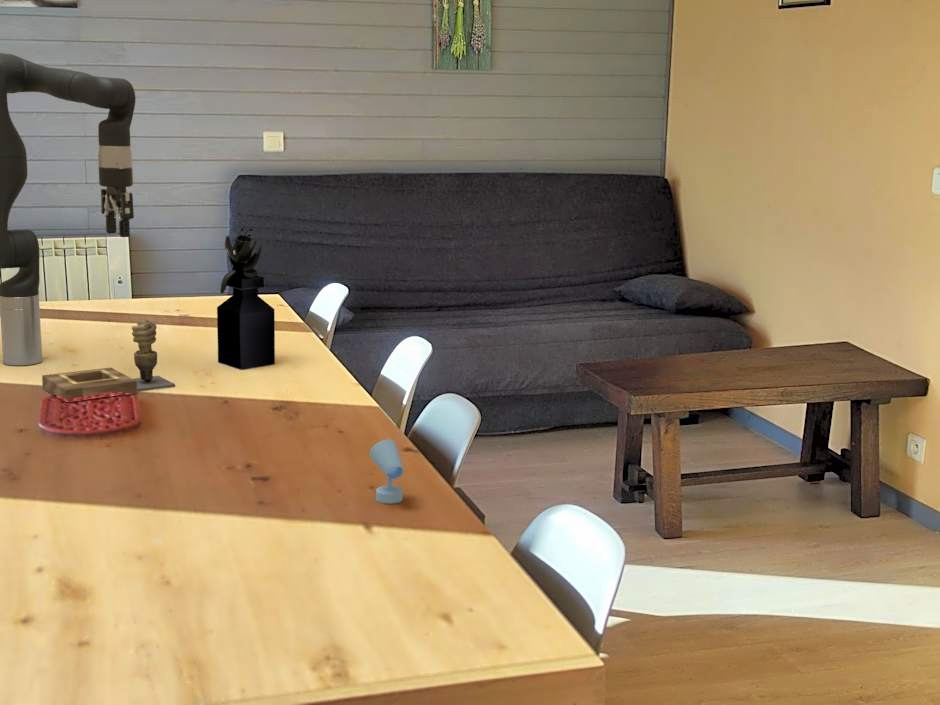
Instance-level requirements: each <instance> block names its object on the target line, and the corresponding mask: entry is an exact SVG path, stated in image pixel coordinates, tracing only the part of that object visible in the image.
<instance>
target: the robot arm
mask: <svg viewBox="0 0 940 705" xmlns="http://www.w3.org/2000/svg"><path fill="white" fill-rule="evenodd" d="M17 93H43V94H47V95H49V96H52V97H54V98H56V99H59V100H64V101H69V102H74V103H79V104H85V105H87V106H91V107H94V108H99V109H105V110H106V109H107V110H108V115H107V117H106V119H102V120H101V121H100V122H99V123H98V126H97V127H98V128H97V129H98V130H97V131H98V132H97V133H98V153H97V160H98V161H97V164H98V184H99V186H101V187H104V188H101V189H100V198H101V199H100V202H101V203H100V204H101V208H100V209H101V210H100V212H101V214H102V215H104V218H105V231H106V233H107V234H116V233H117V217H118V220H119V221H118V229H119V237H121V238H129V237H130V235H131V231H130V230H131V228H130V221H131V220H132V219H134V217H135V214H134V201H133V200H134V198H133V196H134V195H133V192H127V188H128V187H129V188H130V187H132V186H133V185H134V175H133V173H134V172H133V156H132V150H131V149H132V148H131V125H132V122H133V116H134V111H135V108H136V92H135V89H134V87H133V85H132V83H131V82H130V81H129V80H127V79H125V78H121V77H120V78H119V77H108V76H106V77H105V76H97V75H92V74H90V73H87V72H83V71H77V70H72V69H64V68H57V67H56V68H55V67H49V66H45V65H41V64H38V63H36V62H33V61H30V60H28V59H25V58H23V57H20V56H17V55H14V54H12V53H1V52H0V269H18V270H17V272H16V273H15V274H14V275H13V276H12V277H11V278H8V279H6V280H4V281H2V282H0V332H1V333H0V334H1V350H2V363H3V364H4V365H7V366H30V365H37V364H39V363H41V362H43V346H42V345H43V344H42V330H41V329H42V328H41V327H42V326H41V310H40V308H41V307H40V294H39V293H40V291H39V288H40V281H41V280H40V277H41V276H40V244H39V239H38V237H37V234H36V233H35V232H34V231H32V230H30V229H17V230H16V229H15V230H8V222H9V217H10V214H11V209H12V207H13V205H14V203H15V201H16V199H17V198H18V196H19V194H20V193H21V192H22V189H24V188H23V187H25V184H26V181H27V179H28V159H27V158H28V157H27V148H26V146H25V143H24V142H23V141H24V140H23V139H22V137H21V135H20V134H19V132H18V130H17V128H16V126H15V124H14V123H13V121H12V119H11V115H10V112H9V106H8V105H9V104H8V94H17Z"/></svg>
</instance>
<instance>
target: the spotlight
mask: <svg viewBox="0 0 940 705" xmlns="http://www.w3.org/2000/svg"><path fill="white" fill-rule="evenodd" d="M369 450H370V451H369V458H370V459H371V461H372V462H374V464H375V465H376V466H377V467H378V468H379V469H380V471H381V472H383V474H384V475H385V476H386V477H387V478H386V480H387V481H386V483H387V484H386V485H382V486H379V487H377V488H376V489H375V500H376V501H377V503H381V504H388V505H389V504H398V503H400V502H402V501H403V498H404V497H403V492H404V491H403V488H402V487H400V486H396V485H393V481H395V480H397V479H399V478H400V479H401V477H402V476H403V474H404V470H405V469H404V467H403V464H402V459H401V457H400V456H401V455H400V453H399V448H398V445H397V443H396V441H394V440H393V439H383V440H380V441H378V442H377V443H375V444H374V445H373V446H372V447H371V449H369Z"/></svg>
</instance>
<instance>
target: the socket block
mask: <svg viewBox="0 0 940 705" xmlns="http://www.w3.org/2000/svg"><path fill="white" fill-rule="evenodd" d="M41 378H42V389H44V390H45V391H47V392H48V393H49V394H51V395H53V396H54V395H60V396H62V397H63V398H65V399H71V398H77V397H83V396H90V395H97V394H103V393H109V392H122V393H131V394H132V395H138V392H137V381H136V380H134V379H135V378H131V377H130V376H128V375H126V374H124V373H122V372H121V371H120V370H119V371H118V370H117V369H115V368H113V367H102V368H94V369H85V370H76V371H69V372H58V373H52V374H44V375H43V374H42V377H41Z"/></svg>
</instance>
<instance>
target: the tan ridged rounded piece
mask: <svg viewBox="0 0 940 705" xmlns="http://www.w3.org/2000/svg"><path fill="white" fill-rule="evenodd" d="M136 323H137V325H132V326H131V330H132V332H131V335H132V337H133V338H132V341H133V342H134V343H137V344H138V346H137V347H138V348H139V349H138V350H136V351H135V352H134V353H133V359H134V365H135V367H136V368H137V369H138V370H139V374H140V376H139V378H141V380H145V382H147V383H148V382H151V380H152V378H153V376H154V375H153V374H154V373H153V371H154V369H155V367H156V366H157V365H158V352H157V351H155V350H153V349H152V345H153V344H154V343H155V342H156V341H157V337H156V335H157V324H155V323H154V322H152V321H149V320H148V319H140V320H138V321H137V322H136Z"/></svg>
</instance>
